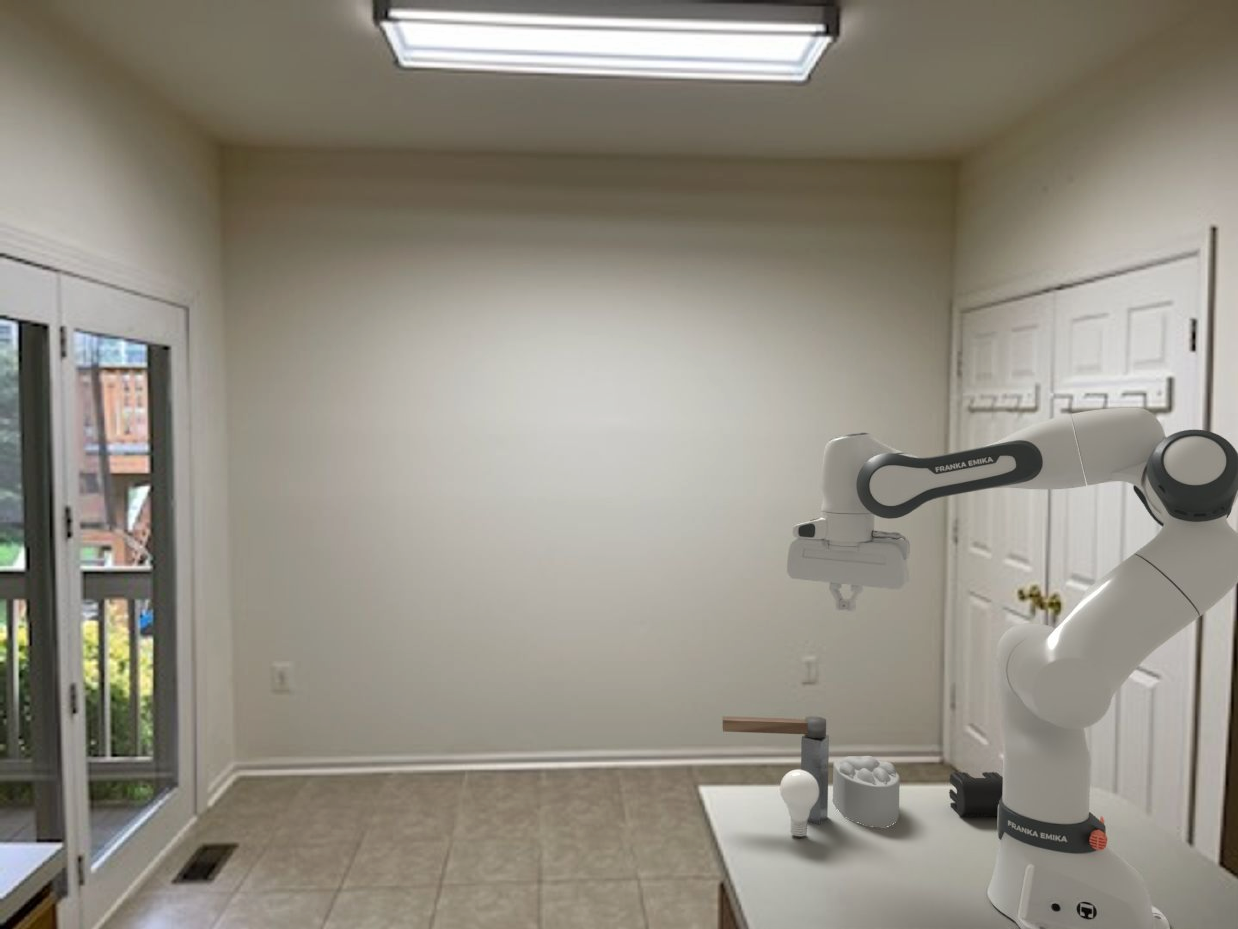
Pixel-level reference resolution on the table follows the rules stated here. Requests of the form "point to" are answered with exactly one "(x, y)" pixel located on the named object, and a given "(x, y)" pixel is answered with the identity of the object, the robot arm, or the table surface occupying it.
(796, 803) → the lightbulb
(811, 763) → the post
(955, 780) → the end cap
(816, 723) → the hammer
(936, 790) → the table surface
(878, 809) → the lumpy-topped squat cylinder
